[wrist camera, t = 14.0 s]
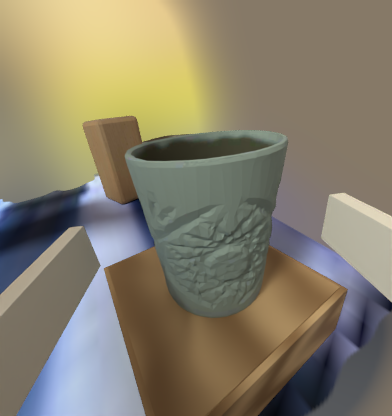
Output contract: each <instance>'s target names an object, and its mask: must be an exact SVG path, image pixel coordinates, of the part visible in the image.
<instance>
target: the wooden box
mask: <svg viewBox="0 0 392 416" xmlns="http://www.w3.org/2000/svg"><path fill="white" fill-rule="evenodd" d="M104 271H105V275H106V278H107V282H108V285H109V289H110V292H111V296H112V299H113V303H114V306H115V310H116V313H117V317H118V320H119V323H120V327H121V330H122V334H123V337H124V341H125V344H126V348H127V351H128V355H129V358H130V362H131V365H132V369H133V372H134V376H135V379H136V383H137V386H138V390H139V393H140V397H141V400H142V404H143V407H144V411H145V414H146V416H258V415H259V414H260V412H261V411H262V410H263V409H264V408H265V407H266V406H267V405H268V404H269V402H270V401H271V400H272V399H273V398H274V397H275V396H276V395H277V393H278V392H279V391H280V390H281V389H282V388H283V387H284V386H285V385H286V383H287V382H288V381H289V380H290V379H291V378H292V377H293V376H294V375H295V373H296V372H297V371H298V370H299V369H300V368H301V367H302V366H303V364H304V363H305V362H306V361H307V360H308V359H309V358H310V357H311V356H312V354H313V353H314V352H315V351H316V350H317V349H318V348H319V347H320V345H321V344H322V343H323V342H324V341H325V340H326V339H327V338H328V337H329V335H330V334H331V333H332V332H333V331H334V330H335V329H336V325H337V322H338V319H339V316H340V312H341V309H342V306H343V303H344V300H345V296H346V293H347V290H348V289H346V288H345V287H343V286H341V285H339V284H337V283H336V282H334V281H332V280H330V279H329V278H327V277H325V276H323V275H321V274H320V273H318V272H316V271H314V270H313V269H311V268H309V267H307V266H305V265H304V264H302V263H300V262H298V261H297V260H295V259H293V258H291V257H289V256H288V255H286V254H284V253H282V252H281V251H279V250H277V249H275V248H273V247H272V246H270V245H269V248H268V253H267V258H266V265H265V270H264V276H263V281H262V286H261V289H260V292H259V294H258V295H257V297H256V299H255V300H254V301H253V302H252V304H251V305H249V306H248V307H247V308H245V309H244V310H242V311H240V312H238V313H236V314H233V315H230V316H227V317H219V318H208V317H202V316H198V315H194V314H192V313H190V312H188V311H186V310H184V309H183V308H181V307H180V306H179V305H178V304H177V303H176V301H175V300H174V299H173V298H172V296H171V294H170V293H169V290H168V287H167V284H166V280H165V276H164V272H163V269H162V266H161V263H160V260H159V257H158V255H157V252H156V249H155V246H154V247H152V248H150V249H147V250H145V251H143V252H141V253H138V254H136V255H134V256H131V257H129V258H127V259H124V260H122V261H120V262H118V263H115V264H113V265H111V266H108V267H106V268H104Z"/></svg>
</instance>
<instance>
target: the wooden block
mask: <svg viewBox="0 0 392 416" xmlns="http://www.w3.org/2000/svg"><path fill="white" fill-rule="evenodd" d="M83 129H84V132H85V135H86V138H87V141H88V144H89V147H90V150H91V153H92V155H93V158H94V162H95V164H96V167H97V170H98V173H99V176H100V179H101V182H102V185H103V188H104V191H105V194H106V196H107V197H108V198H109V199H112V200H114V201H116V202H118V203H120V204H125V203H128V202H130V201H133V200H135V199H137V198H138V195H137V192H136V189H135V186H134V183H133V181H132V178H131V175H130V172H129V169H128V166H127V163H126V160H125V154H126V152H127V150H129V149H130V148H132V147H134V146H137V145H140V144H142V140H141V136H140V132H139V127H138V122H137V119H136V117H134V116H126V117H116V118H107V119H99V120H93V121H88V122H84V123H83Z"/></svg>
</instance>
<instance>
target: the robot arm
mask: <svg viewBox="0 0 392 416" xmlns="http://www.w3.org/2000/svg"><path fill="white" fill-rule="evenodd" d="M321 238H322V239H323V240H324V241H325V242H326V243H327V244H328V245H329V246H330V247H331V248H333V249H334V250H335V251H336V252H337V253H338V254H339V255H340V256H341V257H342V258H344V259H345V260H346V261H347V262H348V263H349V264H350V265H351V266H352V267H353V268H355V269H356V270H357V271H358V272H359V273H360V274H361V275H362V276H363V277H364V278H366V279H367V280H368V281H369V282H370V283H371V284H372V285H373V286H374V287H375V288H377V289H378V290H379V291H380V292H381V293H382V294H383V295H384V296H385V297H386V298H388V299H389V300H390V301H391V302H392V216H390V215H387V214H385V213H383V212H381V211H379V210H377V209H375V208H373V207H371V206H369V205H367V204H365V203H363V202H361V201H359V200H357V199H355V198H353V197H351V196H349V195H347V194H345V193H339V194H332V195H329V200H328V204H327V210H326V215H325V221H324V225H323V231H322V236H321ZM99 267H100V263H99V261H98V259H97V256H96V254H95V252H94V249H93V247H92V245H91V242H90V240H89V237H88V235H87V233H86V230H85V228H84V226H78V227H70V228H68V229H67V230H66V231H65V232H64V233H63V234H62V235H61V236H60V237H59V238H58V239H57V240H56V241H55V242H54V243H53V244H52V245H51V246H50V247H49V248H48V249H47V250H46V251H45V252H44V253H43V254H42V255H41V256H40V257H39V258H38V259H37V260H36V261H34V262H33V263H32V264H31V265H30V266H29V267H28V268H27V269H26V270H25V271H24V272H23V273H22V274H21V275H20V276H19V277H18V278H17V279H16V280H15V281H14V282H13V283H12V284H11V285H10V286H9V287H8V288H7V289H6V290H5V291H4V292H3V293H2V294H0V416H16V415H17V413H18V411H19V409H20V408H21V406H22V404H23V402H24V401H25V399H26V397H27V395H28V393H29V392H30V390H31V388H32V386H33V385H34V383H35V381H36V379H37V377H38V376H39V374H40V372H41V370H42V369H43V367H44V365H45V363H46V361H47V360H48V358H49V356H50V354H51V353H52V351H53V349H54V347H55V345H56V344H57V342H58V340H59V338H60V337H61V335H62V333H63V331H64V330H65V328H66V326H67V324H68V322H69V321H70V319H71V317H72V315H73V314H74V312H75V310H76V308H77V306H78V305H79V303H80V301H81V299H82V298H83V296H84V294H85V292H86V290H87V289H88V287H89V285H90V283H91V282H92V280H93V278H94V276H95V274H96V273H97V271H98V269H99Z"/></svg>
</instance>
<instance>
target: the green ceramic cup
mask: <svg viewBox="0 0 392 416" xmlns="http://www.w3.org/2000/svg"><path fill="white" fill-rule="evenodd" d="M287 145H288V139H287V136H285V135H283V134H280V133H276V132H270V131H255V130H238V131H237V130H235V131H223V132H222V131H221V132H209V133H199V134H190V135H183V136H177V137H170V138H165V139H160V140H155V141H150V142H147V143H143V144H140V145H137V146H134V147H132V148H130V149H129V150H127V152H126V154H125V160H126V163H127V166H128V169H129V172H130V175H131V178H132V181H133V183H134V186H135V189H136V192H137V195H138V198H139V200H140V202H141V205H142V208H143V212H144V215H145V218H146V221H147V224H148V227H149V230H150V233H151V236H152V237H153V239H154V244H155V249H156V252H157V255H158V257H159V260H160V263H161V266H162V269H163V272H164V276H165V280H166V284H167V287H168V290H169V293H170V294H171V296H172V298H173V299H174V300H175V301H176V303H177V304H178V305H179V306H180V307H181V308H183V309H184V310H186V311H188V312H190V313H192V314H194V315H198V316H202V317H208V318H219V317H227V316H230V315H233V314H236V313H238V312H240V311H242V310H244V309H245V308H247V307H248V306H249V305H251V304H252V302H253V301H254V300H255V299H256V297H257V295H258V294H259V292H260V289H261V286H262V281H263V276H264V270H265V265H266V258H267V253H268V248H269V238H270V236H271V231H272V219H271V215H272V212H273V211H274V208H275V206H276V195H277V191H278V187H279V184H280V181H281V176H282V171H283V166H284V160H285V155H286V150H287Z"/></svg>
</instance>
